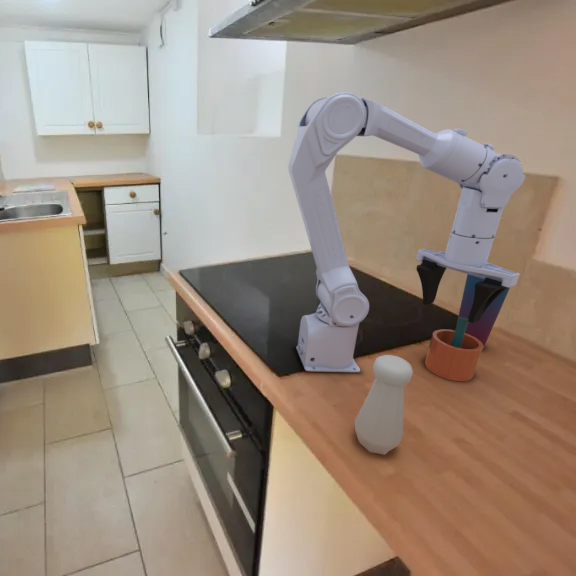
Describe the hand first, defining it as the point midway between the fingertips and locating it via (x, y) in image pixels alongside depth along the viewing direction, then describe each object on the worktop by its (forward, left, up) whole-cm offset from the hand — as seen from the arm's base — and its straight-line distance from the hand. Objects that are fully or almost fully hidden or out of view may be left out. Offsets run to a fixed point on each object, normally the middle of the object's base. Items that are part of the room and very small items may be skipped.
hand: (449, 311), depth 65 cm
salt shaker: (-19, -20, -10) cm, 29 cm away
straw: (+1, -2, -10) cm, 10 cm away
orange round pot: (+1, -2, -10) cm, 11 cm away
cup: (+10, +7, -10) cm, 16 cm away
